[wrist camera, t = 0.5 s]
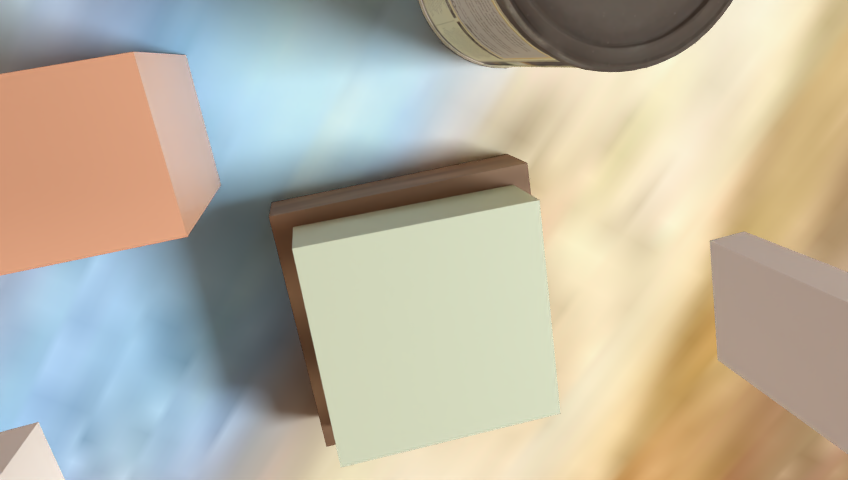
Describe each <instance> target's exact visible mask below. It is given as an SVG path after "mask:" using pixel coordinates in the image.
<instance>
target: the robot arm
mask: <svg viewBox="0 0 848 480" xmlns="http://www.w3.org/2000/svg"><path fill="white" fill-rule="evenodd" d="M710 250H711V265H712V280H713V295H714V310H715V325H716V340H717V355H718V360H719V361H720V362H721V363H723V364H724V365H726V366H727V367H728V368H730V369H731V370H732V371H734V372H735V373H737V374H738V375H739V376H741V377H742V378H743V379H745V380H746V381H748V382H749V383H750V384H752V385H753V386H755V387H756V388H757V389H759V390H760V391H761V392H763V393H764V394H766V395H767V396H768V397H770V398H771V399H772V400H774V401H775V402H777V403H778V404H779V405H781V406H782V407H783V408H785V409H786V410H788V411H789V412H790V413H792V414H793V415H795V416H796V417H797V418H799V419H800V420H801V421H803V422H804V423H806V424H807V425H808V426H810V427H811V428H812V429H814V430H815V431H817V432H818V433H819V434H821V435H822V436H823V437H825V438H826V439H828V440H829V441H830V442H832V443H833V444H835V445H836V446H837V447H839V448H840V449H841V450H843V451H844V452H846V453H847V454H848V272H846V271H843V270H841V269H838V268H836V267H833V266H831V265H828V264H826V263H823V262H820V261H818V260H815V259H813V258H810V257H808V256H805V255H803V254H800V253H798V252H795V251H792V250H790V249H787V248H785V247H782V246H780V245H777V244H775V243H772V242H770V241H767V240H764V239H762V238H759V237H757V236H754V235H752V234H749V233H747V232H741V233H737V234H733V235H729V236H726V237H722V238H718V239H715V240H711V241H710ZM0 480H65V479H64V477H63V475H62V473H61V471H60V468H59V466H58V464H57V462H56V460H55V457H54V455H53V453H52V451H51V449H50V447H49V444H48V442H47V440H46V438H45V436H44V433H43V431H42V429H41V427H40V425H39V423H38V422H37V423H33V424H29V425H26V426H22V427H18V428H15V429H11V430H7V431H3V432H0Z"/></svg>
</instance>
